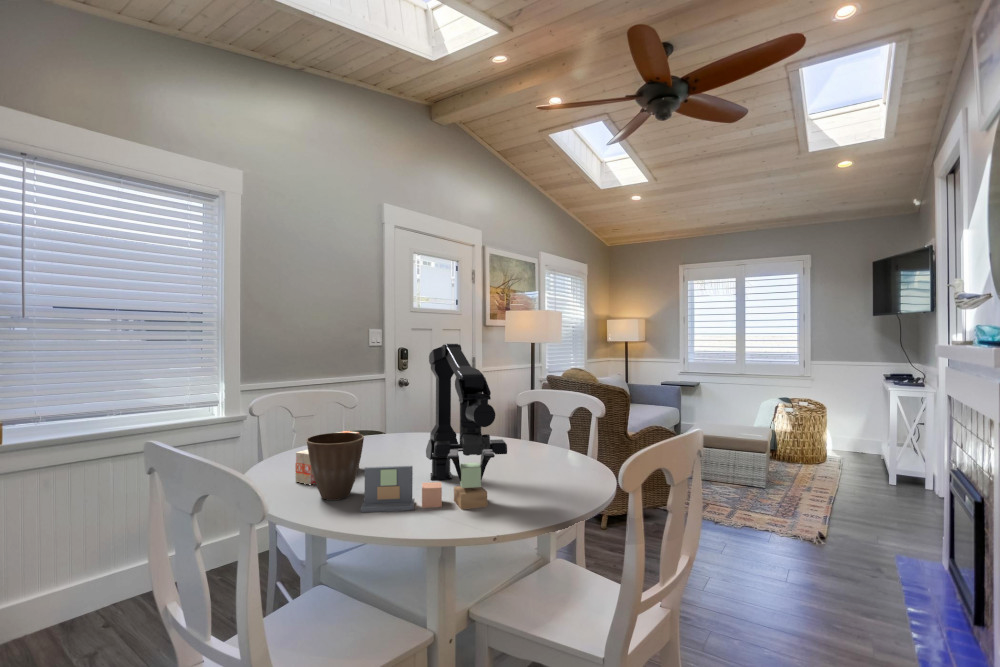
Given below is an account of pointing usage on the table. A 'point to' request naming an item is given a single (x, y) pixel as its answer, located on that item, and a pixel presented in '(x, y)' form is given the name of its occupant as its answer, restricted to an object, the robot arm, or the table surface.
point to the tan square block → (470, 497)
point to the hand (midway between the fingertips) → (470, 480)
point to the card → (388, 489)
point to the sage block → (470, 475)
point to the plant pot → (335, 462)
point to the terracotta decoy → (431, 494)
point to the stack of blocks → (306, 466)
